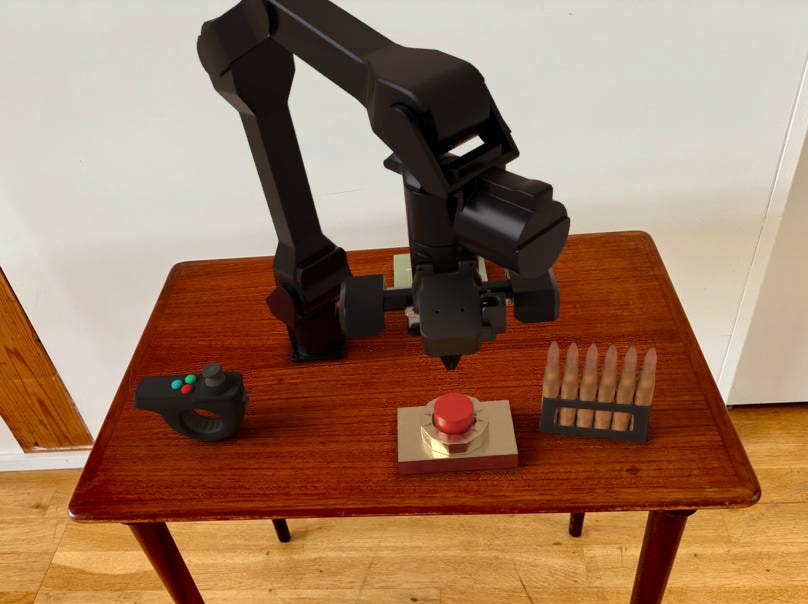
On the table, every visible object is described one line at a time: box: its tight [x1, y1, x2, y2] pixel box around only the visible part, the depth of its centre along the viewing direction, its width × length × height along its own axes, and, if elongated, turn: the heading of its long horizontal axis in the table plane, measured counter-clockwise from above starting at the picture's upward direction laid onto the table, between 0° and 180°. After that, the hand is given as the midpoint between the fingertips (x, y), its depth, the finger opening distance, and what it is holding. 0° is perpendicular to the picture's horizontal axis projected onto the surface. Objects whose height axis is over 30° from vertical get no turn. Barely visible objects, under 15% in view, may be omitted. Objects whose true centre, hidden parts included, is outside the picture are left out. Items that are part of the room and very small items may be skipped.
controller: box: [133, 362, 250, 442], centre depth 78 cm, size 4×12×10 cm, turn 85°
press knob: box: [434, 392, 474, 435], centre depth 72 cm, size 4×4×2 cm
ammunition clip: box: [538, 340, 658, 442], centre depth 70 cm, size 11×2×12 cm, turn 76°
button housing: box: [396, 394, 519, 476], centre depth 74 cm, size 12×8×4 cm, turn 89°
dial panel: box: [393, 253, 489, 287], centre depth 95 cm, size 12×9×3 cm
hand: (450, 367), depth 68 cm, fingers closed
